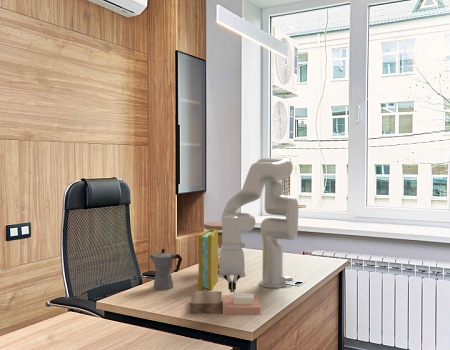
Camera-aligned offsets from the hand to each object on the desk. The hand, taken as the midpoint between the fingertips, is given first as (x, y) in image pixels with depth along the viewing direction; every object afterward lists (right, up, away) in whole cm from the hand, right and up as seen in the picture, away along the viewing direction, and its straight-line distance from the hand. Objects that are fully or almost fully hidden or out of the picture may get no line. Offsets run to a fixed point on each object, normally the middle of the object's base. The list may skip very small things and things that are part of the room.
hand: (232, 291), depth 188 cm
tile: (+5, -4, -1) cm, 6 cm away
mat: (+3, -6, 0) cm, 7 cm away
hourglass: (-6, -4, +61) cm, 61 cm away
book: (-10, -5, +33) cm, 35 cm away
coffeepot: (-30, -5, +28) cm, 41 cm away
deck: (-10, -6, 0) cm, 12 cm away
